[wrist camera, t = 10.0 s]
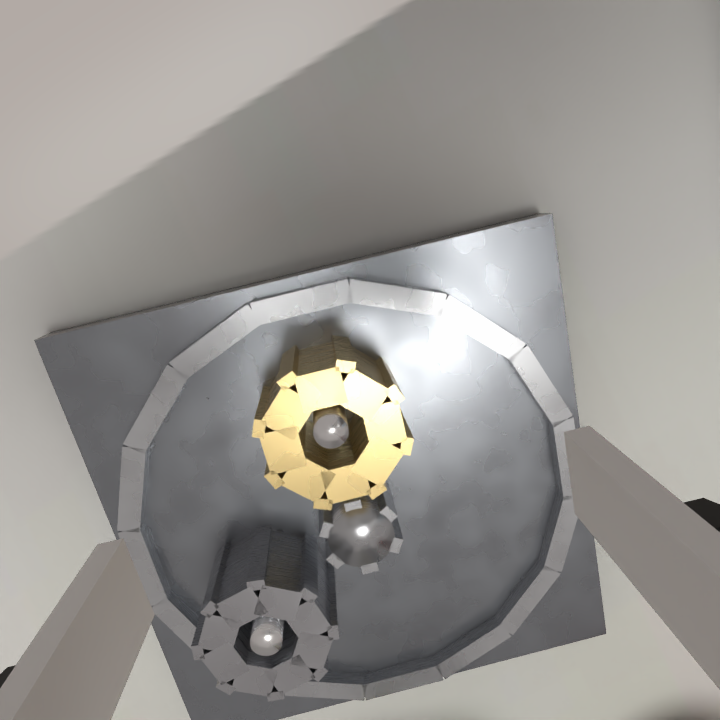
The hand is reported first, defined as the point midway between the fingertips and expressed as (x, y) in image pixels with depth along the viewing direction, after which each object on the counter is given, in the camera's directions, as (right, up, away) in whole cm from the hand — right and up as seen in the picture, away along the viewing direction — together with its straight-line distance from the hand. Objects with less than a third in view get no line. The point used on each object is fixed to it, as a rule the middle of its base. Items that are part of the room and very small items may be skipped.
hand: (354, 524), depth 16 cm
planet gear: (-1, +3, +11) cm, 12 cm away
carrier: (0, -3, +15) cm, 15 cm away
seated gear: (-5, -7, +14) cm, 16 cm away
